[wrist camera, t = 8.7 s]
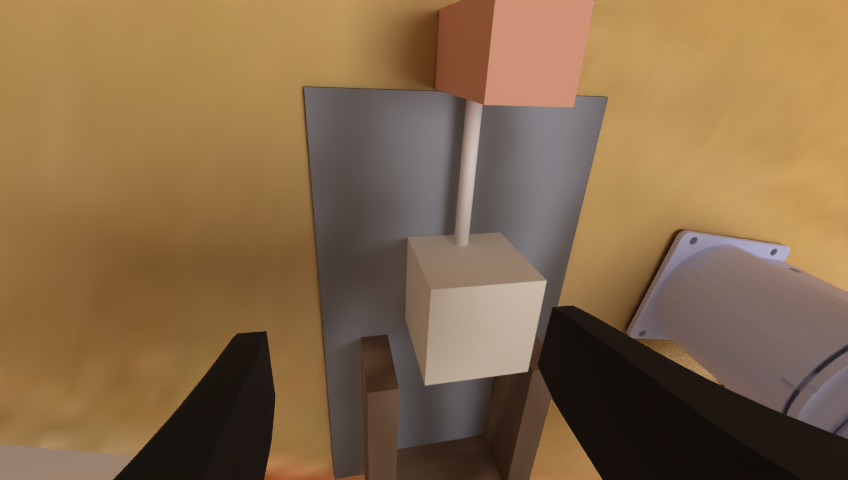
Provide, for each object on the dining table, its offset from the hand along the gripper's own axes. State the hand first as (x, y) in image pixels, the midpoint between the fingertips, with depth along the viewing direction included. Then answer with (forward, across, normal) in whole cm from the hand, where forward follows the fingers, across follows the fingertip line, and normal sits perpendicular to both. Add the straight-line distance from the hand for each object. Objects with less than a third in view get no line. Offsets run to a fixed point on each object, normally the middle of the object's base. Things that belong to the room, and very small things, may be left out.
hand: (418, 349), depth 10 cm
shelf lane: (+10, -4, +7) cm, 13 cm away
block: (+10, -4, -1) cm, 11 cm away
